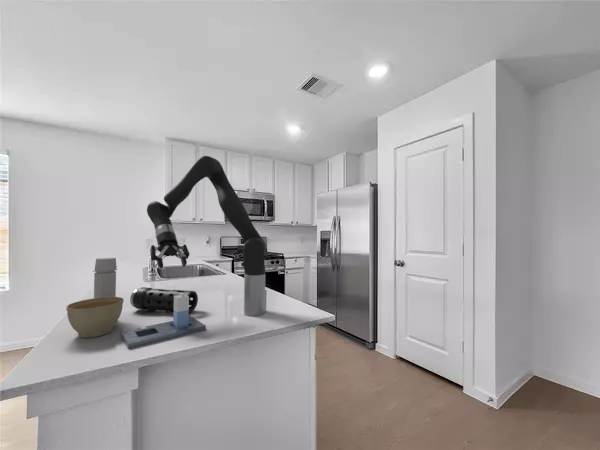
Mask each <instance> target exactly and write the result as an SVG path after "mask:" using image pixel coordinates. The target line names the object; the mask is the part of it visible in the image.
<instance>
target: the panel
mask: <svg viewBox="0 0 600 450" xmlns="http://www.w3.org/2000/svg"><path fill="white" fill-rule="evenodd" d="M206 329H207V328H206V324H204V323H202V322H201V321H199V320H198V319H196V318H195V317H193V316H190V317H189V324H188V326H187V327H182V328H178V329H174V328H173V320H170V321H166V322H161V323H156V324H151V325H145V326H141V327H137V328H131V329H128V330H122V331H120V337H121V339H122V341H123V342H124V345H125V346H126V348H127V349H128V350H130V349H133V348H138V347H142V346H145V345H150V344H154V343H158V342H161V341H167V340H170V339H174V338H178V337H182V336H187V335H191V334H194V333H200V332H203V331H206Z"/></svg>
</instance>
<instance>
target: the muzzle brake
mask: <svg viewBox="0 0 600 450" xmlns="http://www.w3.org/2000/svg"><path fill="white" fill-rule="evenodd" d="M179 293H184V294H186V295H188V296H189V314H192V313H193V312H194V311H195V309H196V308H197V305H198V301H199V296H198V293H197V292H196V291H195V290H180V289H167V288H165V289H164V288H153V287H140V288H136V289H134V291H133V292H132V293H131V294H130V298H129V302H130V305H131V306H132V307H133V308H135V309H137V310H147V312H151V313H153V312H157V311H160V312H161V311H163V312H165V313H172V314H174V296H176V295H179Z"/></svg>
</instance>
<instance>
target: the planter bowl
mask: <svg viewBox="0 0 600 450" xmlns="http://www.w3.org/2000/svg"><path fill="white" fill-rule="evenodd" d="M124 299H125V298H123V297H120V296H116V297H100V298H94V297H93V298H88V299H87V298H86V299H83V300H79V301H75V302H71V303H70V304H67V306H66V307H65V309H66V312H67V319H68V322H69V324H70V326H71V327H72V329H73V330H74V331H75V332H76V333H77V335H78V337H79V338H84V339H86V338H87V339H88V338H94V337H95V338H96V337H100V336H104V335H106V334H109V333H110V332H112V331H113V329H114V328H113V327H114V326H115V325H116V324H117V322H118V320H119V319H120V316H121V314H122V311H123V308H124V307H123V304H124V301H125V300H124Z"/></svg>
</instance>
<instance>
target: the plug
mask: <svg viewBox="0 0 600 450" xmlns="http://www.w3.org/2000/svg"><path fill="white" fill-rule="evenodd" d="M189 306H190V305H189V296H188V295H186V294H184V293H179V295H176V296H174V313H173V320H172V321H173V328H174V329H178V328H182V327H187V326H188V324H189V315H190V313H189Z"/></svg>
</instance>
